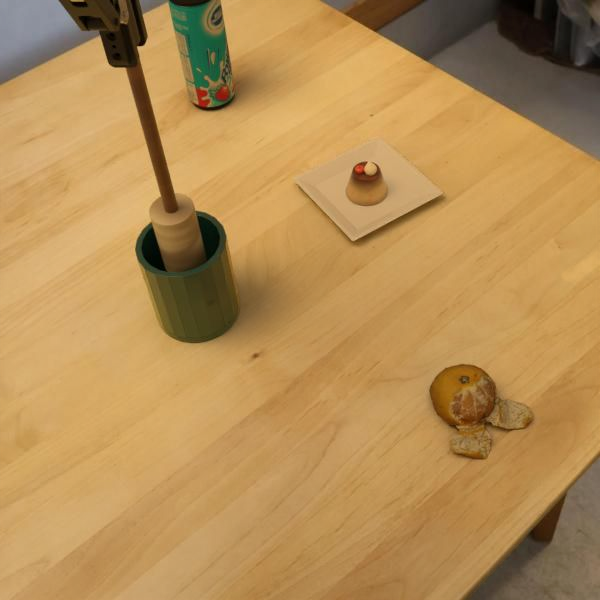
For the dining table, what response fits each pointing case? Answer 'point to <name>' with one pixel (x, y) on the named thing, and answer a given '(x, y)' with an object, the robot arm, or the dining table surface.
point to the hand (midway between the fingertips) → (129, 53)
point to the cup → (192, 286)
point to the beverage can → (203, 51)
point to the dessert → (367, 187)
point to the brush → (165, 185)
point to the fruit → (474, 408)
